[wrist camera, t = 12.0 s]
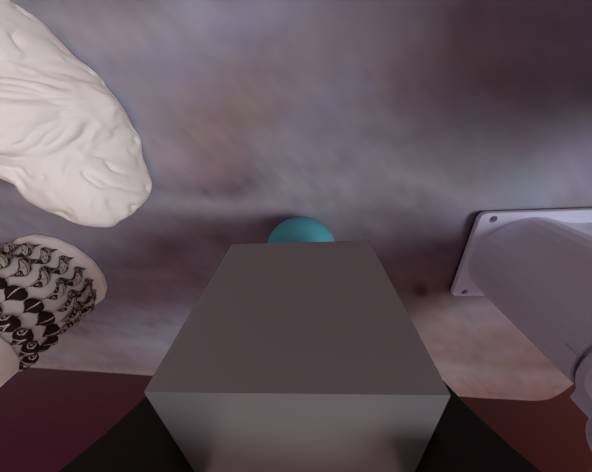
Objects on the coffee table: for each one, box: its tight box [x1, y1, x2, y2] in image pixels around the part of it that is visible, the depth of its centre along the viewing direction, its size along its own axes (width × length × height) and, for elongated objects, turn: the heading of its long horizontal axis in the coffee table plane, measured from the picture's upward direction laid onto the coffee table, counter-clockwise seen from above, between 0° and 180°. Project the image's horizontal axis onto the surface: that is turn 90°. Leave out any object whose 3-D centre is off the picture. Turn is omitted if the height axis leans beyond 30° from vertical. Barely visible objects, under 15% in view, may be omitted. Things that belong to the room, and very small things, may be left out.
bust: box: [0, 0, 152, 227], centre depth 11 cm, size 12×8×11 cm
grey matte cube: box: [144, 240, 451, 472], centre depth 9 cm, size 6×6×7 cm
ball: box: [267, 217, 334, 243], centre depth 16 cm, size 5×5×5 cm
